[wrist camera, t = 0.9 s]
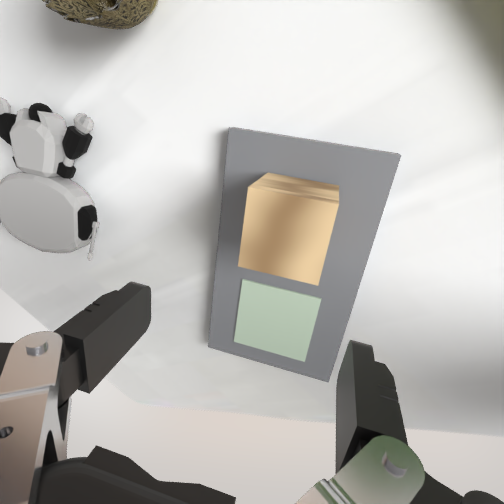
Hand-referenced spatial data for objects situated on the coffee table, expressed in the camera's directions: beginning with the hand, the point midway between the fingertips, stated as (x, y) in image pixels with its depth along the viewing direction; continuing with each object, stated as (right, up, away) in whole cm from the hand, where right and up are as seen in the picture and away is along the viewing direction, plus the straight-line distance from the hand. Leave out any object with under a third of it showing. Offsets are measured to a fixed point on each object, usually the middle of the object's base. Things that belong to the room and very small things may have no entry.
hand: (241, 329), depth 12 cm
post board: (+4, +2, +19) cm, 20 cm away
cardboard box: (+4, +6, +15) cm, 17 cm away
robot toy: (-20, +11, +23) cm, 32 cm away
